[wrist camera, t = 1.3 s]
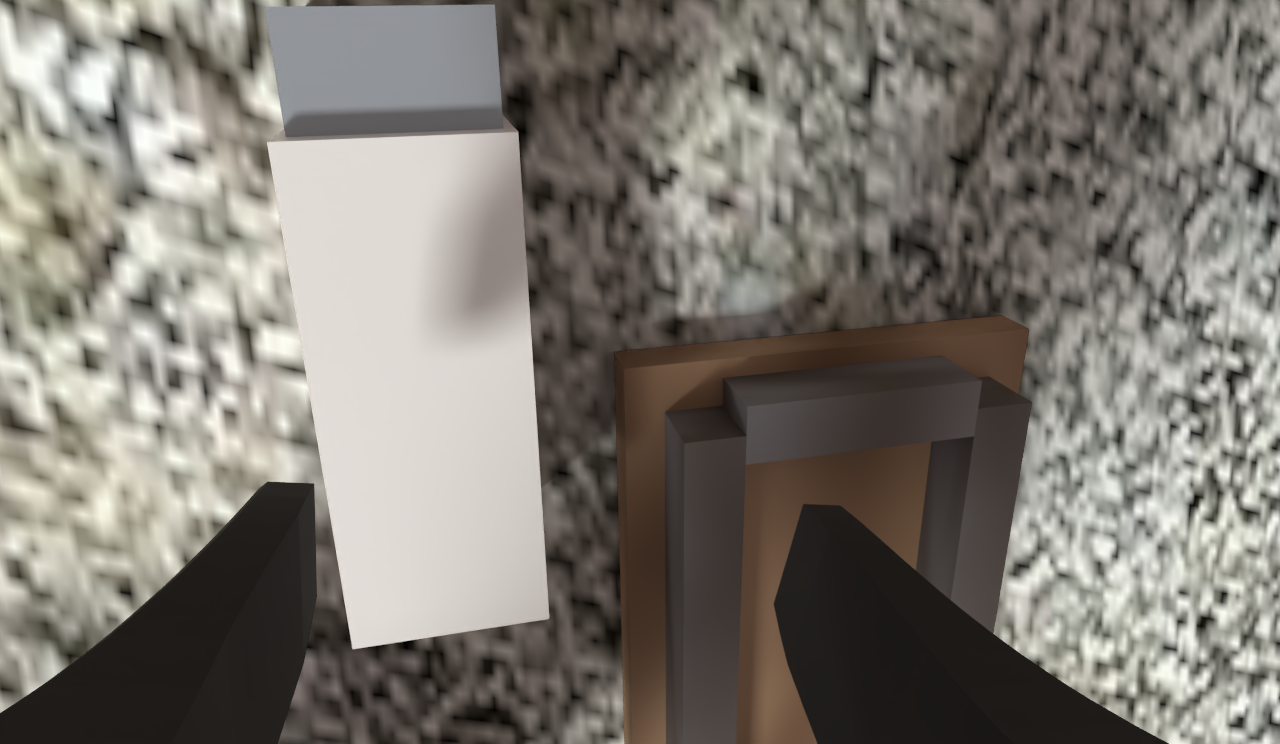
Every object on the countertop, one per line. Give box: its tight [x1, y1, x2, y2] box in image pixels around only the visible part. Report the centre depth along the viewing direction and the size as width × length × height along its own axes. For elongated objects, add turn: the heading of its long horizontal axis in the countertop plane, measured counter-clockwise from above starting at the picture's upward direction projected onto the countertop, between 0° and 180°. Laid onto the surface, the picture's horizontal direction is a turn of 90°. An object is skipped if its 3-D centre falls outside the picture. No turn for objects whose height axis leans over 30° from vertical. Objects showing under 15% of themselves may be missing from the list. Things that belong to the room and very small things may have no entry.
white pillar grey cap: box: [265, 5, 549, 649], centre depth 18 cm, size 4×12×5 cm, turn 1°
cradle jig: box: [614, 316, 1032, 744], centre depth 25 cm, size 11×18×3 cm, turn 1°
